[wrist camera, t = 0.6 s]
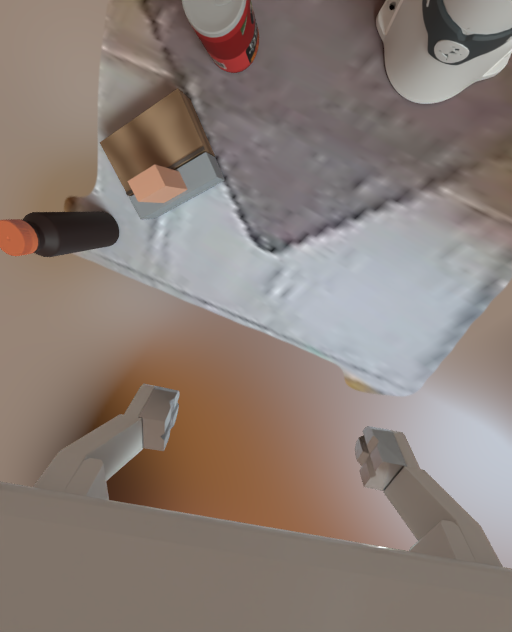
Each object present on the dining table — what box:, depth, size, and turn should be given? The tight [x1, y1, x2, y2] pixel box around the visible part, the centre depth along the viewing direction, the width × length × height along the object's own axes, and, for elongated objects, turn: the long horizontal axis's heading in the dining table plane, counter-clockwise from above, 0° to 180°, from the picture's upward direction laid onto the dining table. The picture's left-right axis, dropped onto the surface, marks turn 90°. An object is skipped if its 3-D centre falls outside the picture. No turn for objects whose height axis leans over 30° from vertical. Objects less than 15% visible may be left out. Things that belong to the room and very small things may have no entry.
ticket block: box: [100, 88, 215, 196], centre depth 47 cm, size 16×9×5 cm, turn 114°
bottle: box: [0, 212, 119, 257], centre depth 48 cm, size 7×7×20 cm
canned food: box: [182, 0, 259, 73], centre depth 37 cm, size 8×8×11 cm
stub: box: [127, 152, 225, 219], centre depth 45 cm, size 16×4×13 cm, turn 114°
